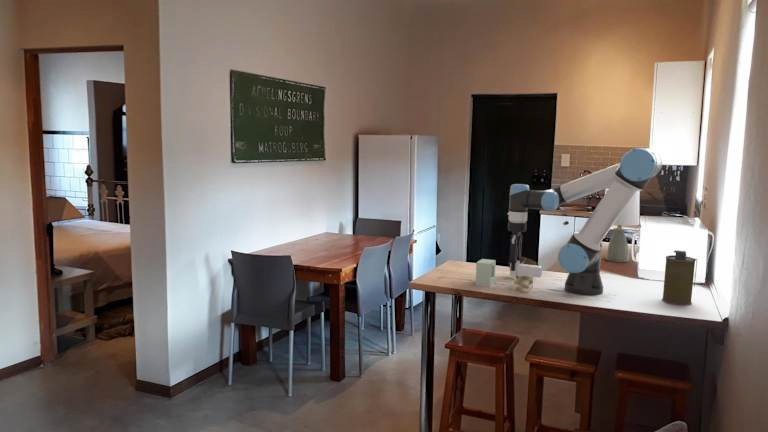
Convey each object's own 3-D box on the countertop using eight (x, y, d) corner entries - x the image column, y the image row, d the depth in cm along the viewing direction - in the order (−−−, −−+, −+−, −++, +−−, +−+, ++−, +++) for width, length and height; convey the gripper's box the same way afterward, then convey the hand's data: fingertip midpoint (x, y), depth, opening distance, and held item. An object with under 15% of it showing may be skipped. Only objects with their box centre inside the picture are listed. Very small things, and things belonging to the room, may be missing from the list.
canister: (659, 302, 231) (664, 251, 228) (664, 296, 240) (668, 247, 237) (691, 307, 225) (695, 255, 222) (694, 301, 234) (699, 251, 231)
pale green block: (494, 282, 257) (495, 260, 256) (489, 286, 249) (490, 264, 248) (481, 280, 259) (482, 258, 258) (475, 285, 251) (476, 262, 250)
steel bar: (541, 275, 246) (542, 266, 245) (539, 277, 242) (540, 267, 242) (512, 272, 251) (513, 262, 250) (510, 274, 247) (511, 264, 247)
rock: (534, 265, 271) (541, 256, 263) (531, 285, 267) (537, 277, 258) (508, 257, 272) (513, 249, 263) (503, 277, 268) (509, 269, 259)
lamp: (592, 260, 310) (597, 189, 306) (605, 255, 325) (610, 187, 320) (629, 265, 299) (635, 192, 294) (641, 260, 313) (646, 190, 308)
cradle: (532, 286, 251) (533, 276, 251) (528, 292, 242) (528, 281, 241) (518, 284, 254) (519, 274, 253) (513, 290, 244) (513, 279, 243)
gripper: (512, 218, 255) (509, 271, 258) (503, 223, 239) (500, 280, 243) (530, 219, 252) (527, 273, 255) (522, 224, 236) (518, 282, 239)
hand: (514, 276), depth 249 cm, fingers closed on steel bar, 4 cm apart
